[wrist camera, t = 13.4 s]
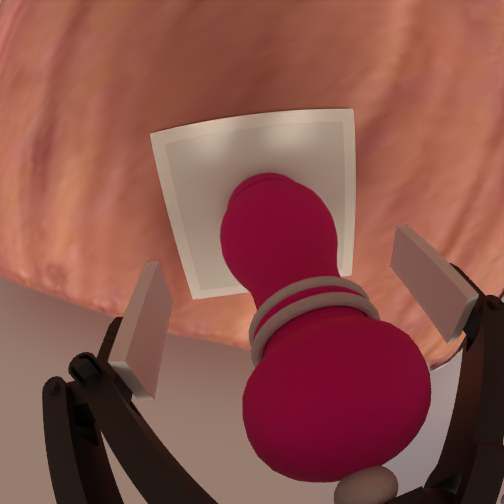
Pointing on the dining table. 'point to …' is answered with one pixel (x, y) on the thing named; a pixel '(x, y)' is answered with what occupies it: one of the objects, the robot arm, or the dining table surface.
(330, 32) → the dining table surface
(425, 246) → the robot arm
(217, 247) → the plate
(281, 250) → the pepper mill
